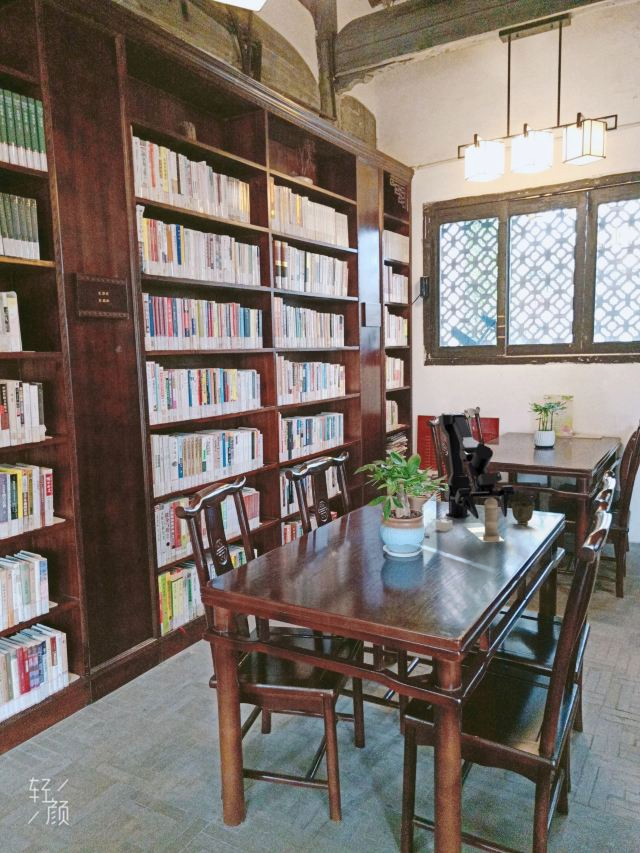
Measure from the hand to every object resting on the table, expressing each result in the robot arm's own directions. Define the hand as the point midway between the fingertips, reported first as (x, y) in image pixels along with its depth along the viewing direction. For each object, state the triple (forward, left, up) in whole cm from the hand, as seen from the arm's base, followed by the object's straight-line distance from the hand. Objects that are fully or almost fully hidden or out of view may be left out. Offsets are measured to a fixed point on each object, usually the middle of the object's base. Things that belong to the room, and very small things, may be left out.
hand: (491, 517), depth 194 cm
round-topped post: (-1, 0, -7) cm, 7 cm away
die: (-19, -3, -8) cm, 21 cm away
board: (-8, +4, -8) cm, 12 cm away
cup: (-7, +23, -8) cm, 26 cm away
